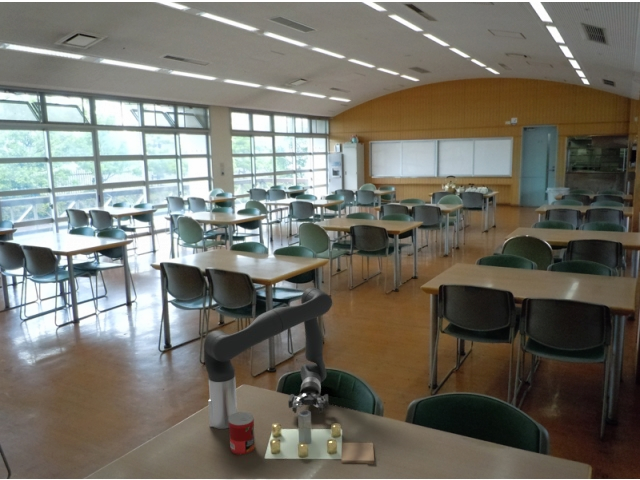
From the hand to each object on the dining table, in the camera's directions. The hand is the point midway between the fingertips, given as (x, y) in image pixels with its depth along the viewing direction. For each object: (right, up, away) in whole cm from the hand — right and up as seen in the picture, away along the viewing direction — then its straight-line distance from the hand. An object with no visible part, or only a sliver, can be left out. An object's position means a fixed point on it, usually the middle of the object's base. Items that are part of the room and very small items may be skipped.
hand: (307, 410), depth 183 cm
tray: (+16, -8, -17) cm, 25 cm away
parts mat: (0, -8, -10) cm, 13 cm away
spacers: (-1, -7, -11) cm, 14 cm away
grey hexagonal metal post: (0, -7, -9) cm, 12 cm away
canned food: (-21, -9, -12) cm, 25 cm away
